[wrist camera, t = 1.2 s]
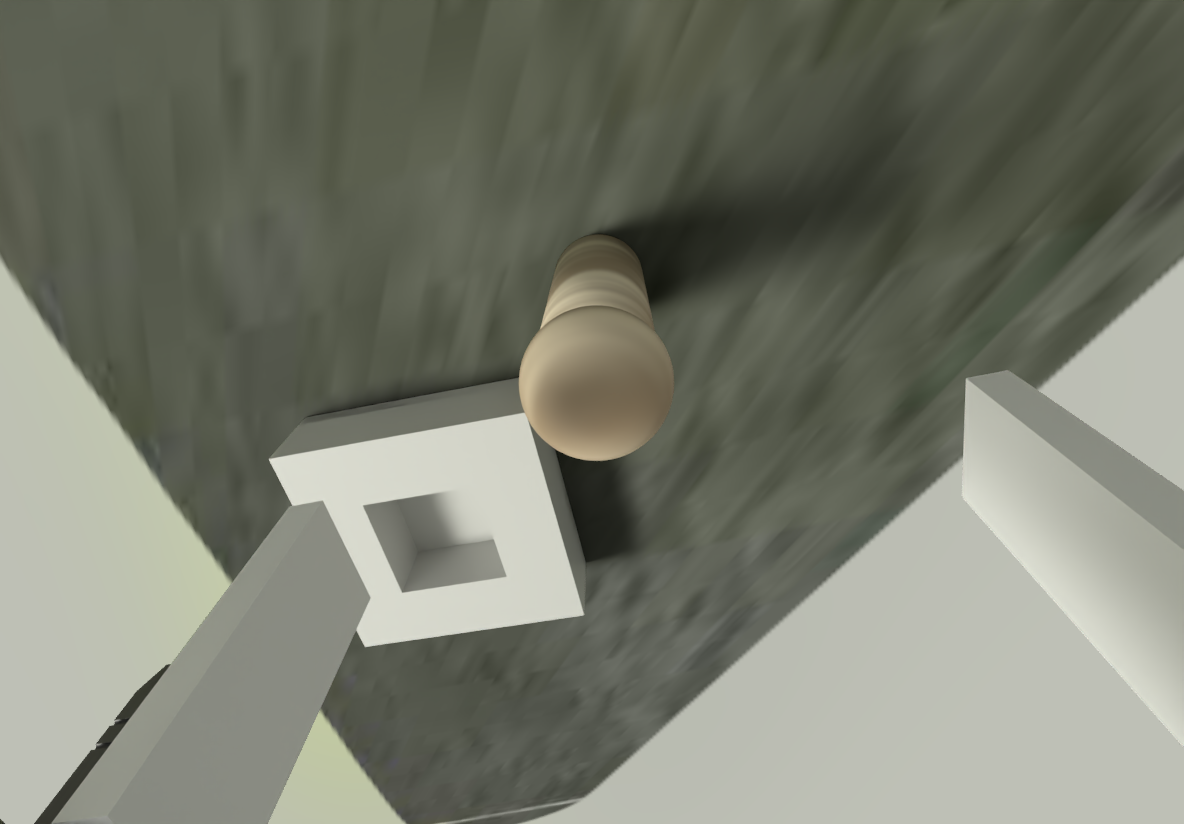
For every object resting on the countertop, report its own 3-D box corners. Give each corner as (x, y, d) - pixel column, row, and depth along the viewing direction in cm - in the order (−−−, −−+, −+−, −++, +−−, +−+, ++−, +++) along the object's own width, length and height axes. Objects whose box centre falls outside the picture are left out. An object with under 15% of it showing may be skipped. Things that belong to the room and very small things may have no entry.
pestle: (537, 239, 28) (488, 356, 16) (640, 217, 28) (668, 322, 16) (560, 335, 30) (533, 503, 18) (657, 317, 30) (692, 477, 18)
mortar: (305, 417, 33) (268, 459, 29) (534, 374, 31) (525, 412, 28) (387, 593, 38) (365, 646, 34) (586, 563, 37) (584, 615, 33)
